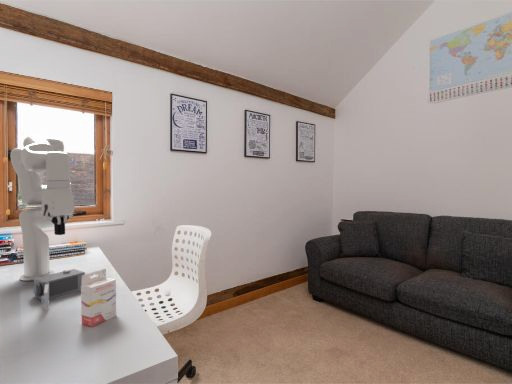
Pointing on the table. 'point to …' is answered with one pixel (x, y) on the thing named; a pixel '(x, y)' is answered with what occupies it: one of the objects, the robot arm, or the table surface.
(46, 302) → the side door
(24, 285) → the table surface
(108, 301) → the ink cartridge box
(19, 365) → the table surface
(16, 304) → the table surface
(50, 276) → the grey knobbed panel
